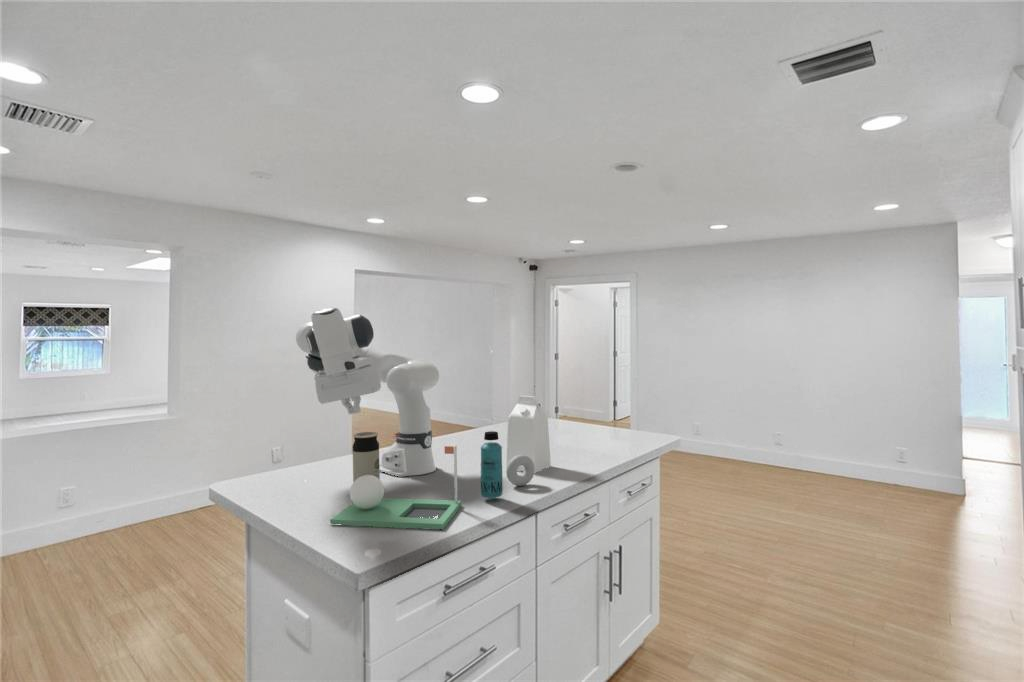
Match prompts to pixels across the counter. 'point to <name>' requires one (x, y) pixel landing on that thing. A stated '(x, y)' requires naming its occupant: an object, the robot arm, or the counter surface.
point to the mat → (404, 510)
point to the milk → (528, 433)
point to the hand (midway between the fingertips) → (354, 413)
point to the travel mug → (365, 455)
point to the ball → (366, 492)
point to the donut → (513, 466)
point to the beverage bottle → (491, 467)
